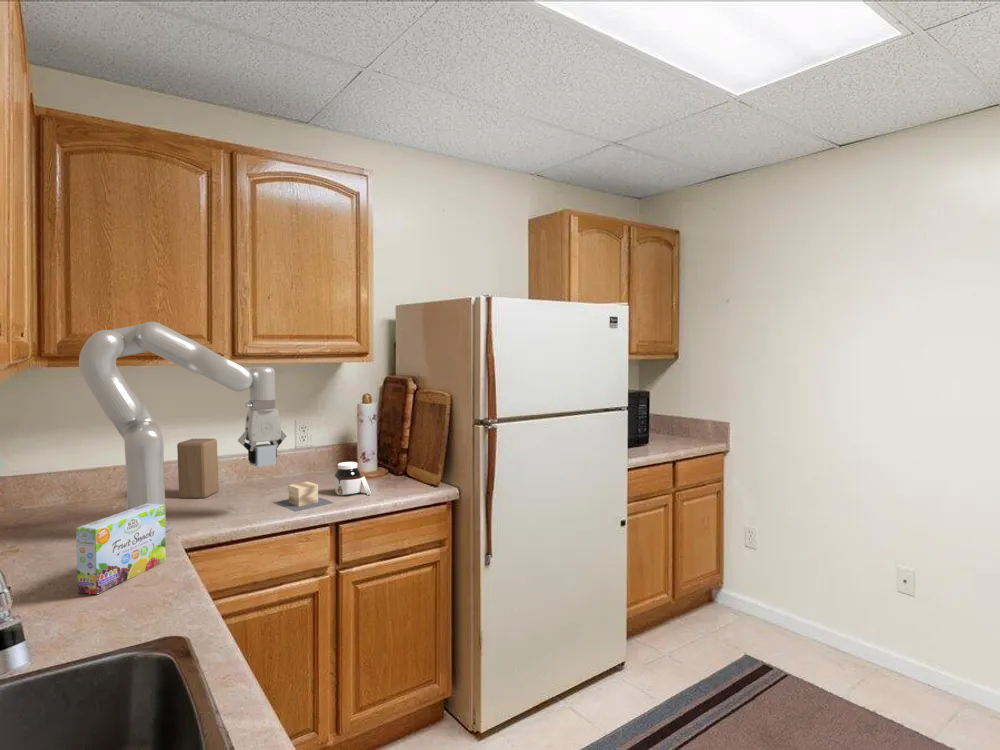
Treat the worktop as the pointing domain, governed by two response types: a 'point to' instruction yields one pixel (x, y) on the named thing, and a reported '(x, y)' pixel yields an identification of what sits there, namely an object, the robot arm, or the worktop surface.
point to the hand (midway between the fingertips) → (262, 461)
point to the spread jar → (349, 480)
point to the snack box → (120, 547)
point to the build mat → (297, 508)
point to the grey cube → (265, 455)
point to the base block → (303, 493)
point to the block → (197, 468)
